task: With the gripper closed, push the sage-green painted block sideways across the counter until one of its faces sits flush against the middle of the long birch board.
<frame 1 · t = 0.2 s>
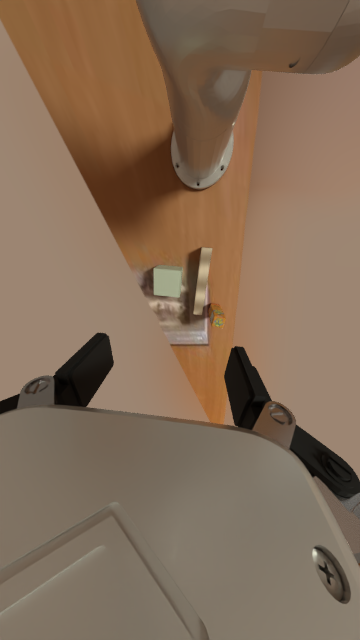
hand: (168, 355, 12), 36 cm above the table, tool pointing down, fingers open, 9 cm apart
green block: (170, 278, 45), on the table
supplement box: (214, 307, 48), on the table
birch board: (201, 281, 44), on the table
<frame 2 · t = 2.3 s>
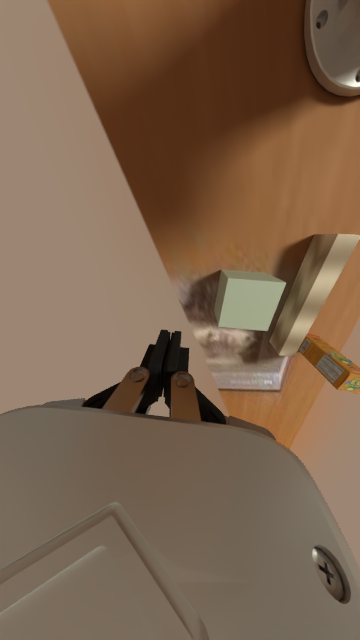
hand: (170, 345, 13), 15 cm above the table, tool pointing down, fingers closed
green block: (238, 292, 25), on the table
supplement box: (305, 339, 29), on the table
birch board: (295, 297, 25), on the table
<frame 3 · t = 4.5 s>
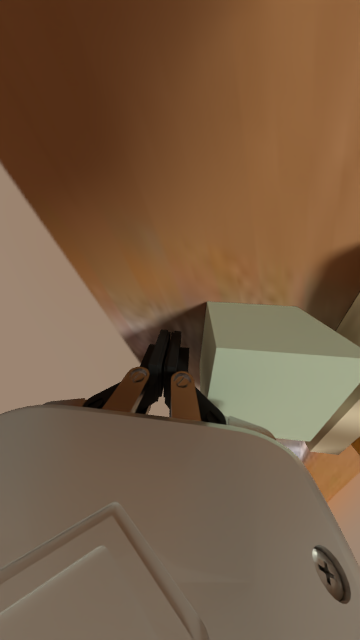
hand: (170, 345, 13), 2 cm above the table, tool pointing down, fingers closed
green block: (241, 340, 14), on the table, touching gripper
supplement box: (349, 408, 17), on the table
birch board: (340, 348, 13), on the table
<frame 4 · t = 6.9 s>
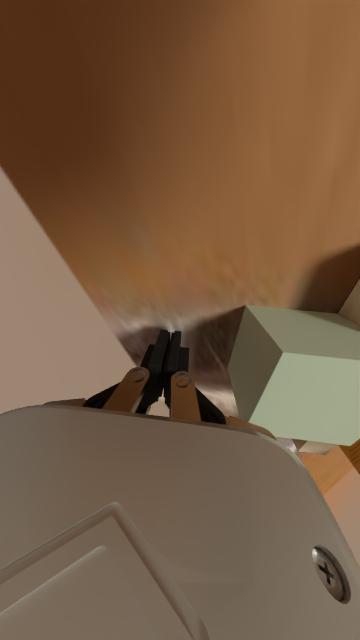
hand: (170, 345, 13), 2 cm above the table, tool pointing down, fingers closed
green block: (273, 343, 14), on the table
supplement box: (337, 409, 17), on the table
birch board: (329, 350, 13), on the table
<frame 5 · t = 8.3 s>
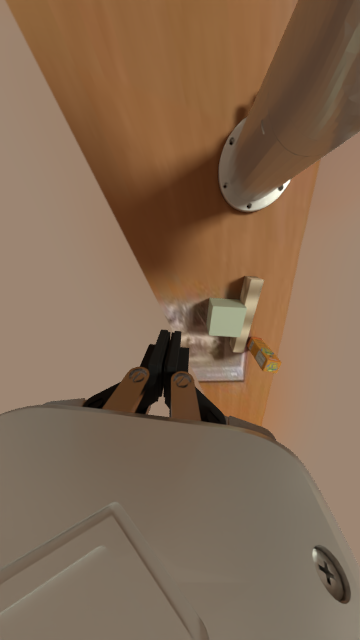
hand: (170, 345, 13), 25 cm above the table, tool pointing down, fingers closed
green block: (221, 311, 38), on the table
supplement box: (253, 341, 41), on the table
birch board: (241, 313, 38), on the table
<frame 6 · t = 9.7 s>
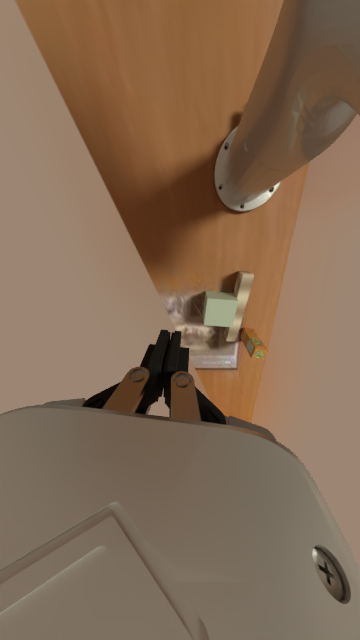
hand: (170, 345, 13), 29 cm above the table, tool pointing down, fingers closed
green block: (216, 304, 41), on the table
supplement box: (246, 332, 45), on the table
birch board: (234, 305, 41), on the table
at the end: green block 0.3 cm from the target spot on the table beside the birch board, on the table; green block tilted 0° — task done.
